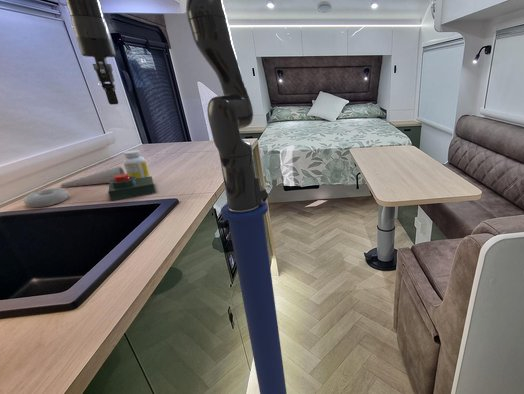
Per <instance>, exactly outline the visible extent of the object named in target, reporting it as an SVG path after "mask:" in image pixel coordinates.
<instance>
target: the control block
mask: <svg viewBox="0 0 524 394" xmlns="http://www.w3.org/2000/svg"><path fill="white" fill-rule="evenodd" d="M149 176H150V175H149ZM129 177H130V179H129V180H126V181H121V182H115V179H112V180H110V182H109V183H108V184H109V186H108V191H107V193H108V195H109V198H110V201H112V202H114V201H118V200H123V199H129V198H134V197H140V196H146V195H150V194H151V195H152V194H156V188H155V184H154V180H153V176H152V175H151V176H150V177H144V178H137V179H136V178H135V177H133V176H129Z"/></svg>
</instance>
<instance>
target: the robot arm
mask: <svg viewBox="0 0 524 394" xmlns="http://www.w3.org/2000/svg"><path fill="white" fill-rule="evenodd" d="M64 1H65V4H66V7H67V10H68V14H69V17H70V21H71V26H72V30H73V33H74V35H75V38H76V42H77V46H78V49H79V51H80V54H81V56H82V57H86V58H88V57H89V58H93V59H94V62H95V63H92V67H93V70H94V71H95V73H96V76H97V79H98V82H99V83H100V84H101V88H102V89H103V91H104V92H105V95H106V98H107V103H108V104H109V105H118V104H119V99H118V96H117V93H116V84H115V77H114V74H113V73H114V72H113V67H112V64H110V63H108V61H107V58H116V57H117V54H116V49H115V46H114V43H113V39H112V35H111V32H110V30H109V26H108V24H107V22H106V19H105V15H104V12H103V8H102V4H101V1H100V0H64ZM185 13H186V19H187V23H188V25H189V29H190V31H191V36H192V39H193V42H194V44H195V46H196V48H197V50H198V51H199V52H200V54H201V55H202V57H203V58H204V59H205V61H206V62H207V63H208V65H209V66H210V67H211V69H212V70H213V72H214V73H215V75H216V77H217V78H218V81H219V83H220V87H221V90H222V93H223V95H217V96H213V97H212V98H211V99H210V100H209V101H208V104H207V108H206V109H207V110H206V112H207V119H208V123H209V128H210V132H211V137H212V140H213V143H214V145H215V147H216V149H217V152H218V156H219V157H218V158H219V162H220V167H221V172H222V173H221V174H222V179H223V184H224V189H225V196H226V200H227V204H228V209H229V211H230V212H233V213H247V212H251V211H254V210H256V209H258V208H259V207H262V202H261V200H262V201H264V202H265V201H266V202H267V199H268V198H269V194H268V192H267V189H266V188H265V187H263V186H262V185H261V184H260V180H259V177H257V174H256V166H255V159H254V158H255V157H254V152H253V145H252V142H250V141H247V140H243V139H242V137H241V132H240V129H243V128H247V127H249V126H250V125H251V124H252V122H253V119H254V109H253V104H252V101H251V97H249V93H248V90H247V87H246V85H245V82H244V79H243V75H242V73H241V69H240V66H239V61H238V58H237V54H236V50H235V47H234V42H233V38H232V33H231V29H230V25H229V21H228V18H227V17H228V16H227V14H226V11H225V6H224V2H223V0H186V3H185Z"/></svg>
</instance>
